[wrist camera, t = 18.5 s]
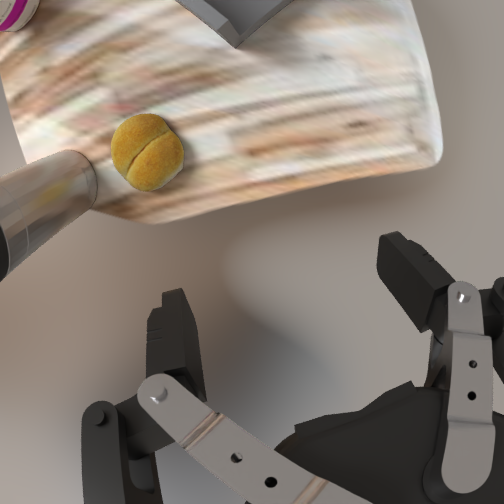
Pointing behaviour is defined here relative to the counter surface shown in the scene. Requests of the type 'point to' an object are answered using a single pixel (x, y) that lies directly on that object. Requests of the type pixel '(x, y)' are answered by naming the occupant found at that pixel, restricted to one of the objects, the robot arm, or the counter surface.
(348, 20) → the counter surface
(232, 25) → the shelf
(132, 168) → the bread roll
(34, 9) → the supplement can
